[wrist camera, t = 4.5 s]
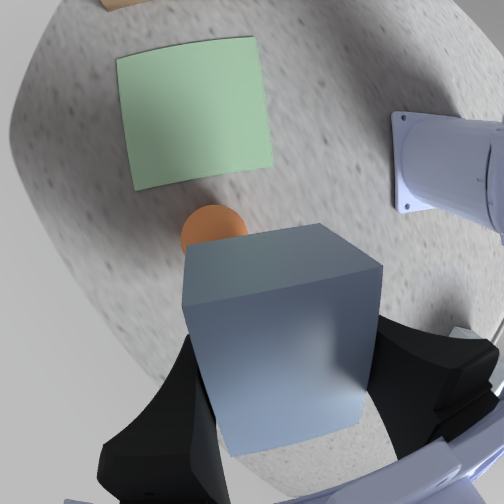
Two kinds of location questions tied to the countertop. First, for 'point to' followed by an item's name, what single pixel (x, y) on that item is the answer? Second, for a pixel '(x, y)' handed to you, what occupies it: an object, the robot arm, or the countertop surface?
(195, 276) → the grey-blue rectangular brick
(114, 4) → the wall
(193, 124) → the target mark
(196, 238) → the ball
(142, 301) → the countertop surface
